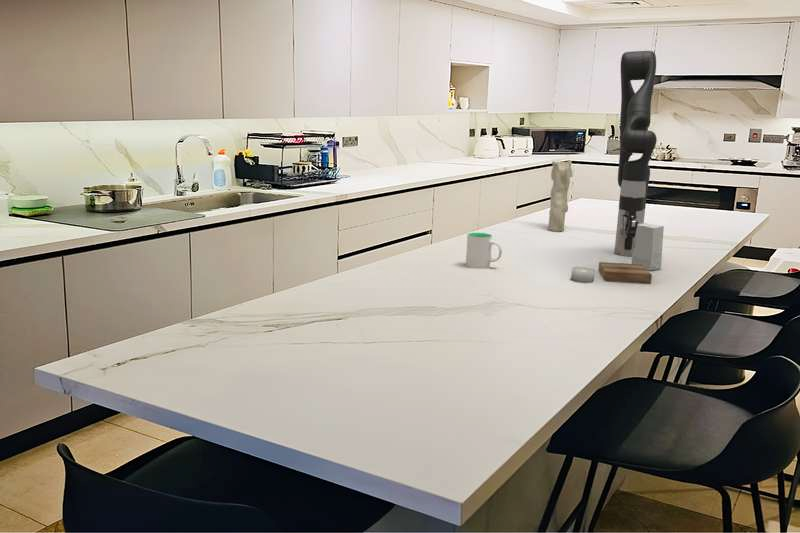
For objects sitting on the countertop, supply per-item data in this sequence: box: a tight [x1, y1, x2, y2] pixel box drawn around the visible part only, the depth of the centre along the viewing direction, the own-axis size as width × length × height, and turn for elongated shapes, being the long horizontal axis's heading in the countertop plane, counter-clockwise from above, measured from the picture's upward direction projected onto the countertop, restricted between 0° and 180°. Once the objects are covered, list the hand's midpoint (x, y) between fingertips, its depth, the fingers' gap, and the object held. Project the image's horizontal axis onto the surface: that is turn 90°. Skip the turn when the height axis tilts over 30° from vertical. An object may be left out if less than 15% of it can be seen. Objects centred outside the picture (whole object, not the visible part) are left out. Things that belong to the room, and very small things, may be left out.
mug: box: [465, 232, 503, 269], centre depth 244 cm, size 12×8×10 cm, turn 65°
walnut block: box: [597, 261, 653, 285], centre depth 237 cm, size 14×14×3 cm
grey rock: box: [617, 227, 637, 257], centre depth 235 cm, size 6×4×10 cm, turn 71°
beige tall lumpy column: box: [547, 159, 573, 233], centre depth 311 cm, size 9×8×30 cm
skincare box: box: [631, 223, 665, 271], centre depth 250 cm, size 8×6×15 cm
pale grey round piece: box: [570, 266, 596, 284], centre depth 231 cm, size 7×7×4 cm
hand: (626, 248), depth 235 cm, fingers closed on grey rock, 3 cm apart
